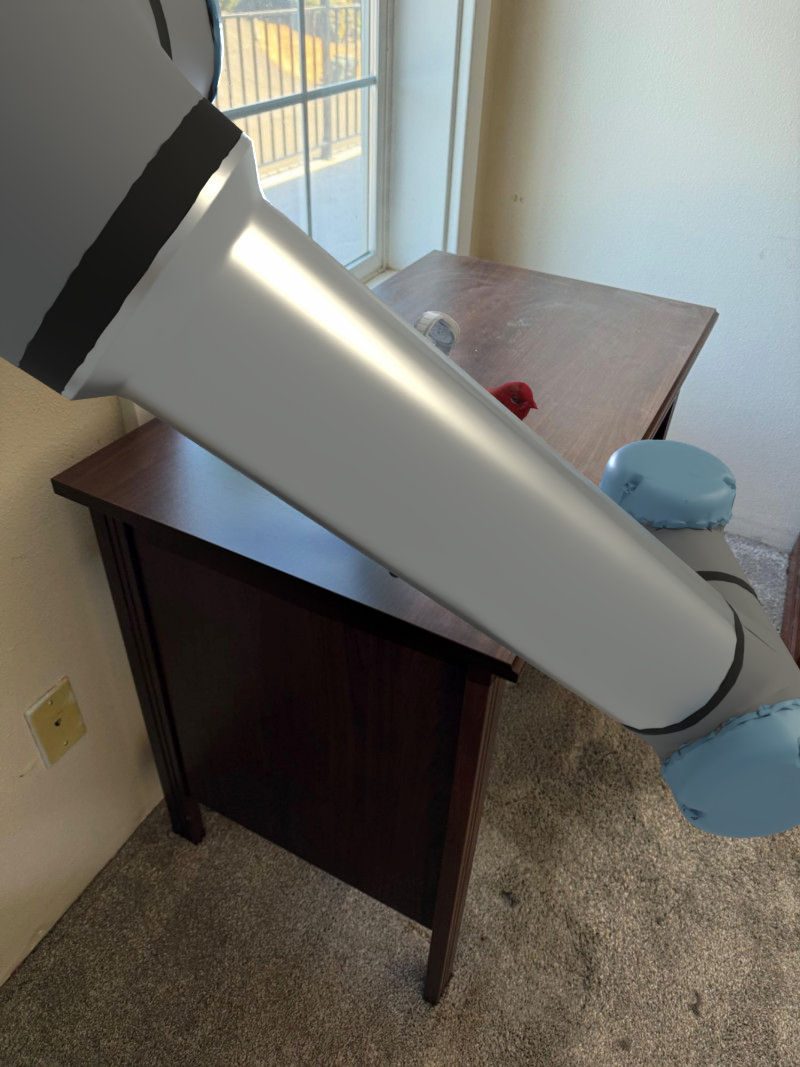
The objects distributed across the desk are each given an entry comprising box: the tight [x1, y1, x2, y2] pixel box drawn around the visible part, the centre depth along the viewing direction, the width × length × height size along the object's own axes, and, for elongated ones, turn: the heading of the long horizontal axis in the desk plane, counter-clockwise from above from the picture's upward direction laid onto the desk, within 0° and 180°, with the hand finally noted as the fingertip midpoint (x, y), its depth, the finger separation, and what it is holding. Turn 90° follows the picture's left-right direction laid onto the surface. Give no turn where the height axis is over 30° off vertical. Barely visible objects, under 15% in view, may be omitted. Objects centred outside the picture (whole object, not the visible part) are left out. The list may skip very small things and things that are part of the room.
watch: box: [412, 310, 461, 358], centre depth 95 cm, size 6×8×11 cm
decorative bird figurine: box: [482, 381, 539, 422], centre depth 86 cm, size 3×18×10 cm, turn 47°
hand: (336, 448), depth 72 cm, fingers closed on sprinkles bottle, 4 cm apart
